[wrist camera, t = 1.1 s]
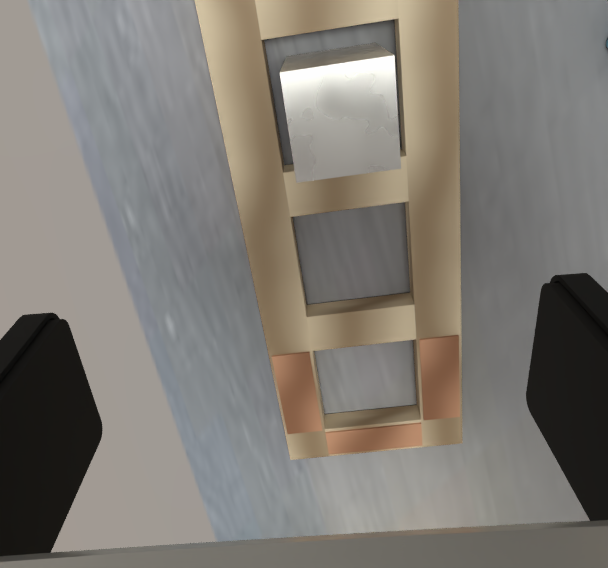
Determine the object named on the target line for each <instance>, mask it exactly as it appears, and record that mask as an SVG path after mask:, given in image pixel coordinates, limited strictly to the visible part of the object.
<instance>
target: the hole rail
mask: <svg viewBox="0 0 608 568" xmlns="http://www.w3.org/2000/svg"><path fill="white" fill-rule="evenodd" d="M195 4H196V9H197V14H198V19H199V23H200V28H201V33H202V38H203V42H204V47H205V52H206V57H207V62H208V66H209V71H210V76H211V81H212V86H213V90H214V95H215V100H216V105H217V110H218V114H219V119H220V124H221V129H222V133H223V138H224V143H225V148H226V153H227V157H228V162H229V167H230V172H231V177H232V181H233V186H234V191H235V196H236V201H237V205H238V210H239V215H240V220H241V224H242V229H243V234H244V239H245V244H246V248H247V253H248V258H249V263H250V268H251V272H252V277H253V282H254V287H255V292H256V296H257V301H258V306H259V311H260V315H261V320H262V325H263V330H264V335H265V339H266V344H267V349H268V354H269V359H270V363H271V368H272V373H273V378H274V383H275V387H276V392H277V397H278V402H279V406H280V411H281V416H282V421H283V426H284V430H285V435H286V440H287V445H288V450H289V454H290V459H291V460H295V459H305V458H315V457H325V456H336V455H346V454H356V453H366V452H377V451H387V450H397V449H408V448H418V447H428V446H438V445H449V444H459V443H462V351H461V243H460V136H459V28H458V0H195ZM392 19H394V22H395V39H396V57H397V74H398V91H399V108H400V125H401V142H402V149H400V157H401V169H395V170H388V171H380V172H373V173H366V174H358V175H351V176H343V177H336V178H329V179H321V180H314V181H306V182H299V183H296V177H295V170H294V164H290V165H284V161H283V154H282V148H281V142H280V136H279V130H278V123H277V117H276V111H275V105H274V98H273V92H272V86H271V80H270V74H269V67H268V61H267V55H266V49H265V43H264V39H270V38H277V37H283V36H290V35H296V34H302V33H309V32H315V31H322V30H328V29H334V28H341V27H347V26H354V25H360V24H366V23H373V22H379V21H386V20H392ZM401 202H405V210H406V227H407V245H408V262H409V279H410V293H403V294H394V295H386V296H377V297H369V298H361V299H352V300H344V301H335V302H327V303H318V304H310V305H307V303H306V297H305V291H304V285H303V278H302V272H301V266H300V260H299V254H298V247H297V241H296V235H295V229H294V223H293V217H294V216H302V215H309V214H317V213H325V212H332V211H340V210H347V209H355V208H363V207H370V206H378V205H386V204H393V203H401ZM406 340H413V347H414V364H415V381H416V398H417V405H411V406H401V407H391V408H382V409H372V410H362V411H352V412H343V413H333V414H324V409H323V403H322V396H321V390H320V384H319V378H318V372H317V365H316V359H315V353H314V351H317V350H326V349H335V348H344V347H353V346H362V345H371V344H380V343H389V342H398V341H406Z"/></svg>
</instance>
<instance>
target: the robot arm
mask: <svg viewBox="0 0 608 568" xmlns="http://www.w3.org/2000/svg"><path fill="white" fill-rule="evenodd" d="M526 399H527V405H528V408H529V411H530V413H531V415H532V416H533V418H534V420H535V422H536V424H537V426H538V427H539V429H540V431H541V433H542V435H543V436H544V438H545V440H546V442H547V444H548V445H549V447H550V449H551V451H552V453H553V454H554V456H555V458H556V460H557V462H558V463H559V465H560V467H561V469H562V471H563V473H564V474H565V476H566V478H567V480H568V482H569V483H570V485H571V487H572V489H573V491H574V492H575V494H576V496H577V498H578V500H579V501H580V503H581V505H582V507H583V509H584V510H585V512H586V514H587V516H588V518H589V519H590V521H579V522H553V523H533V524H515V525H497V526H479V527H460V528H442V529H424V530H405V531H387V532H371V533H354V534H337V535H320V536H303V537H287V538H270V539H254V540H238V541H222V542H206V543H190V544H175V545H160V546H144V547H130V548H115V549H101V550H100V549H99V550H84V551H70V552H54V553H50V552H51V550H52V548H53V546H54V543H55V541H56V539H57V537H58V534H59V532H60V530H61V528H62V525H63V523H64V521H65V519H66V516H67V514H68V512H69V510H70V508H71V505H72V503H73V501H74V498H75V496H76V494H77V492H78V490H79V487H80V485H81V483H82V481H83V478H84V476H85V474H86V472H87V469H88V467H89V465H90V463H91V460H92V458H93V456H94V454H95V452H96V449H97V447H98V445H99V443H100V440H101V437H102V422H101V419H100V416H99V413H98V410H97V407H96V404H95V401H94V398H93V395H92V392H91V389H90V386H89V383H88V380H87V377H86V374H85V371H84V369H83V365H82V362H81V359H80V356H79V353H78V350H77V348H76V345H75V342H74V339H73V336H72V333H71V330H70V327H69V325H68V322H67V321H66V320H64V319H59V317H58V316H57V315H56V314H54V313H42V314H30V315H23V316H22V317H20V318H19V319H18V320H17V321H16V322H15V324H14V325H13V326H12V327H11V328H10V330H9V331H8V332H7V333H6V334H5V335H4V336H3V338H2V339H1V340H0V568H608V293H607V292H606V291H605V290H604V289H603V288H602V287H601V286H600V285H599V284H598V283H597V282H596V281H595V280H594V279H593V278H592V277H591V276H590V275H588V274H587V273H580V274H567V275H555V276H554V277H552V279H551V281H550V283H545V284H544V285H543V286H542V289H541V294H540V301H539V308H538V315H537V322H536V329H535V336H534V342H533V349H532V356H531V363H530V370H529V377H528V384H527V391H526Z"/></svg>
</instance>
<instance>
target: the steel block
mask: <svg viewBox="0 0 608 568" xmlns="http://www.w3.org/2000/svg"><path fill="white" fill-rule="evenodd" d="M280 78H281V85H282V92H283V98H284V105H285V111H286V118H287V124H288V131H289V137H290V144H291V150H292V157H293V163H294V170H295V177H296V183H299V182H306V181H314V180H321V179H329V178H336V177H343V176H351V175H358V174H366V173H373V172H380V171H388V170H395V169H401V157H400V140H399V124H398V107H397V90H396V74H395V57H394V55H393V54H392V53H390V52H389V51H387V50H386V49H384V48H383V47H381V46H380V45H378V44H377V43H369V44H363V45H356V46H350V47H343V48H337V49H330V50H324V51H317V52H311V53H304V54H297V55H291V56H286V59H285V61H284V63H283V66H282V68H281V70H280Z"/></svg>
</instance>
